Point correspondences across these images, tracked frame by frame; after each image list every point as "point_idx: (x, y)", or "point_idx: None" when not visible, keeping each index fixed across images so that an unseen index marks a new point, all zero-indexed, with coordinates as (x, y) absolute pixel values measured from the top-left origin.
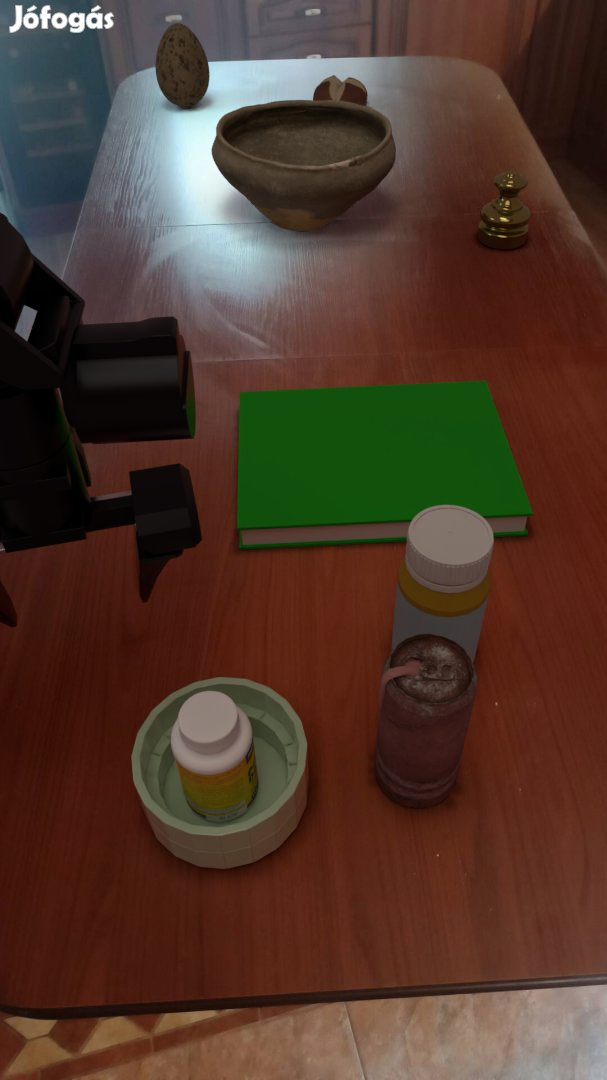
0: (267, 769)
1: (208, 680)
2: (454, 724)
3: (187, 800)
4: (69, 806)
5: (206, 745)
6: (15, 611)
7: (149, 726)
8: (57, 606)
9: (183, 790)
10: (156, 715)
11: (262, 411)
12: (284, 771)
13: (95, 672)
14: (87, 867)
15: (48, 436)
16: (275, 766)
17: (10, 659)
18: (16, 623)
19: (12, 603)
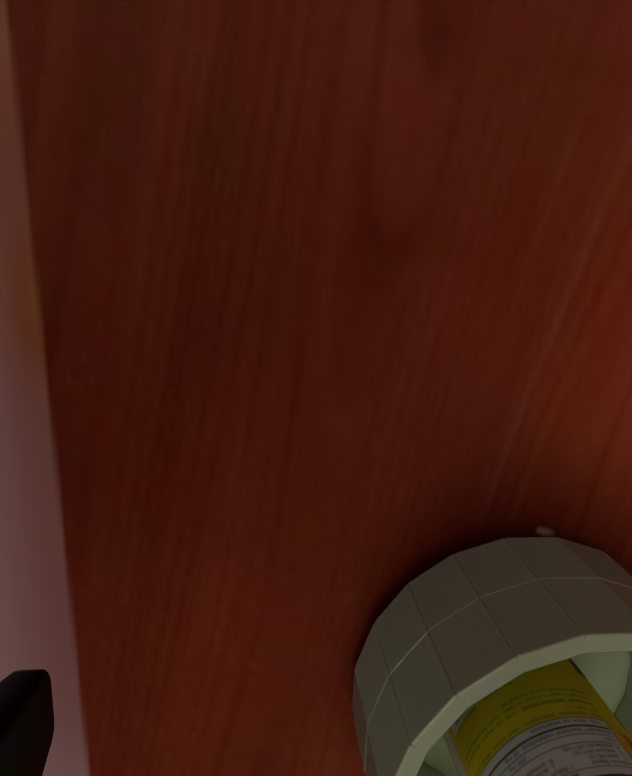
0: (594, 664)
1: (621, 637)
2: None
3: (447, 747)
4: (200, 645)
5: None
6: (36, 698)
7: (442, 734)
8: (169, 36)
9: (451, 756)
10: (465, 709)
11: None
12: (623, 674)
13: (273, 327)
14: (232, 755)
15: None
16: (611, 662)
17: (34, 217)
18: (50, 730)
19: (9, 734)
